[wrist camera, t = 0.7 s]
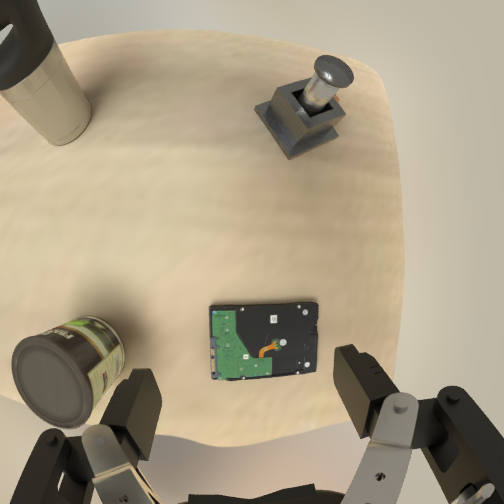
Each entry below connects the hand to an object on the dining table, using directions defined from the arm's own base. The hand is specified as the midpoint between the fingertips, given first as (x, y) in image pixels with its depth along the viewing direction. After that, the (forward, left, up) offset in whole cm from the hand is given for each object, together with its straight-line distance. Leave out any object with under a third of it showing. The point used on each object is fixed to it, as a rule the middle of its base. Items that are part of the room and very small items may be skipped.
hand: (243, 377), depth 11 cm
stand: (-17, +25, -26) cm, 40 cm away
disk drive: (+8, +3, -27) cm, 28 cm away
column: (-17, +25, -25) cm, 39 cm away
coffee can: (-3, -19, -26) cm, 32 cm away
